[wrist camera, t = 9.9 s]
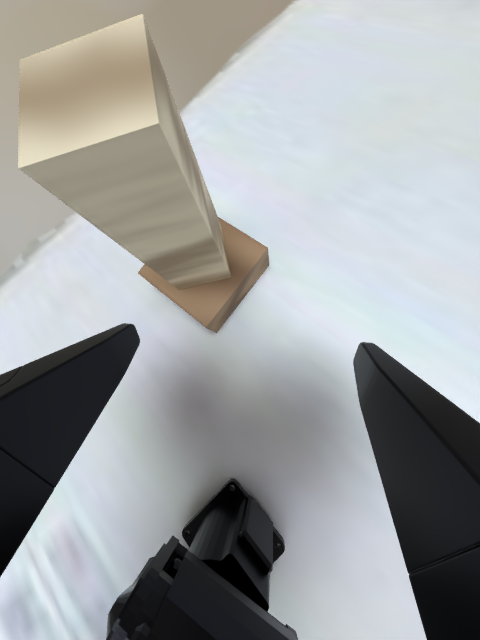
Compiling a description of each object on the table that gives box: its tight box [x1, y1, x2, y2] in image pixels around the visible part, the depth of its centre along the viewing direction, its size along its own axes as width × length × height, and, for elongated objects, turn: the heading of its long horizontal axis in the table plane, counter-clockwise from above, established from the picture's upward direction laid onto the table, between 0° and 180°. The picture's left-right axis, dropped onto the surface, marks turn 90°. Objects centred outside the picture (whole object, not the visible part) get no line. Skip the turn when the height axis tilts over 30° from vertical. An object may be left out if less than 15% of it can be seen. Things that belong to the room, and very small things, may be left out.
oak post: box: [18, 14, 231, 290], centre depth 14 cm, size 5×5×13 cm
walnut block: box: [138, 217, 269, 333], centre depth 22 cm, size 9×9×4 cm
